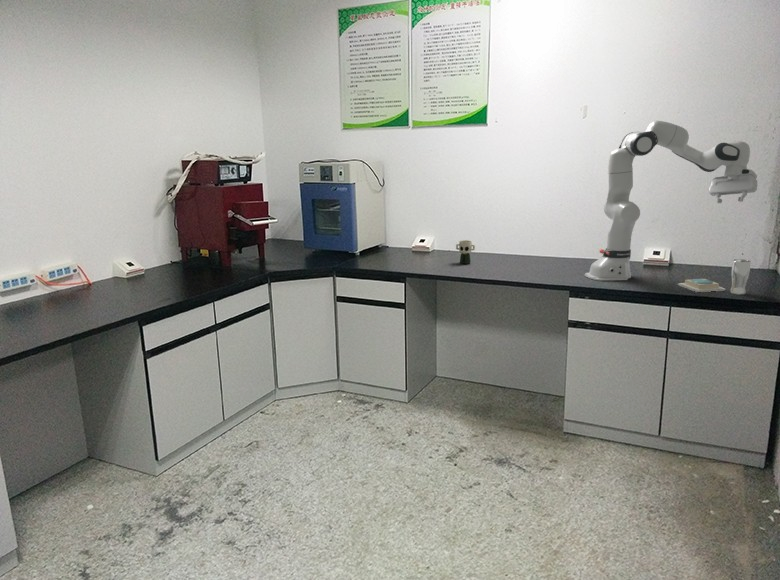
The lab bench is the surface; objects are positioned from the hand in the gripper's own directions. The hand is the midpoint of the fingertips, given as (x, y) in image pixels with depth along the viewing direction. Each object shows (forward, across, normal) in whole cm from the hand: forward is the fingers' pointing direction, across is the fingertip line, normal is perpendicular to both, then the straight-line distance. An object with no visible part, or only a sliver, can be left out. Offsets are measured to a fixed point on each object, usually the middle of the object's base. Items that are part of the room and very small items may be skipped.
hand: (729, 202), depth 270 cm
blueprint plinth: (+43, -5, 0) cm, 43 cm away
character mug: (+48, -117, -46) cm, 135 cm away
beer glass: (+44, +9, +4) cm, 45 cm away
